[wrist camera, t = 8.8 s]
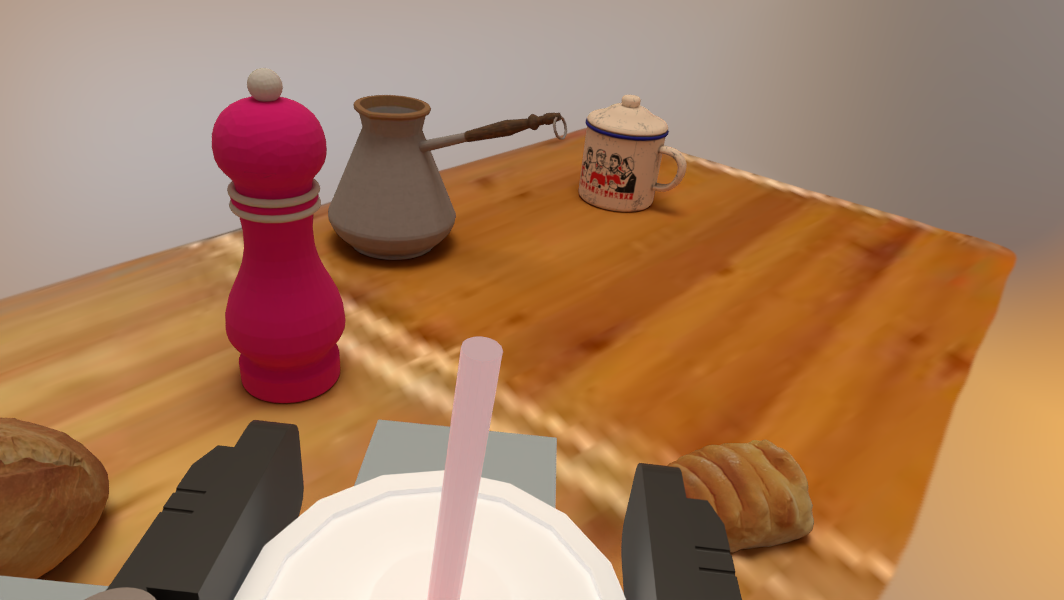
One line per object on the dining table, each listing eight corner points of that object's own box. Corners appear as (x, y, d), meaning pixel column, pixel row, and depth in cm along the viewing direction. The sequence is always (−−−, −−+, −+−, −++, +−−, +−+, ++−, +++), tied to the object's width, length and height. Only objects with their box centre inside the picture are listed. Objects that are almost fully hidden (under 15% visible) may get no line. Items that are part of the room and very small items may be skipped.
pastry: (669, 581, 36) (684, 528, 34) (613, 487, 41) (623, 437, 39) (817, 543, 39) (838, 493, 37) (747, 461, 44) (762, 413, 43)
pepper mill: (233, 417, 43) (183, 85, 33) (233, 351, 49) (191, 52, 39) (354, 400, 45) (341, 86, 35) (341, 340, 51) (327, 55, 41)
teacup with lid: (561, 198, 80) (574, 94, 74) (598, 178, 86) (612, 81, 81) (659, 228, 75) (681, 120, 69) (689, 205, 81) (712, 104, 76)
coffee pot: (302, 249, 63) (289, 78, 55) (375, 207, 72) (373, 56, 65) (520, 314, 57) (538, 132, 49) (569, 260, 66) (591, 100, 59)
